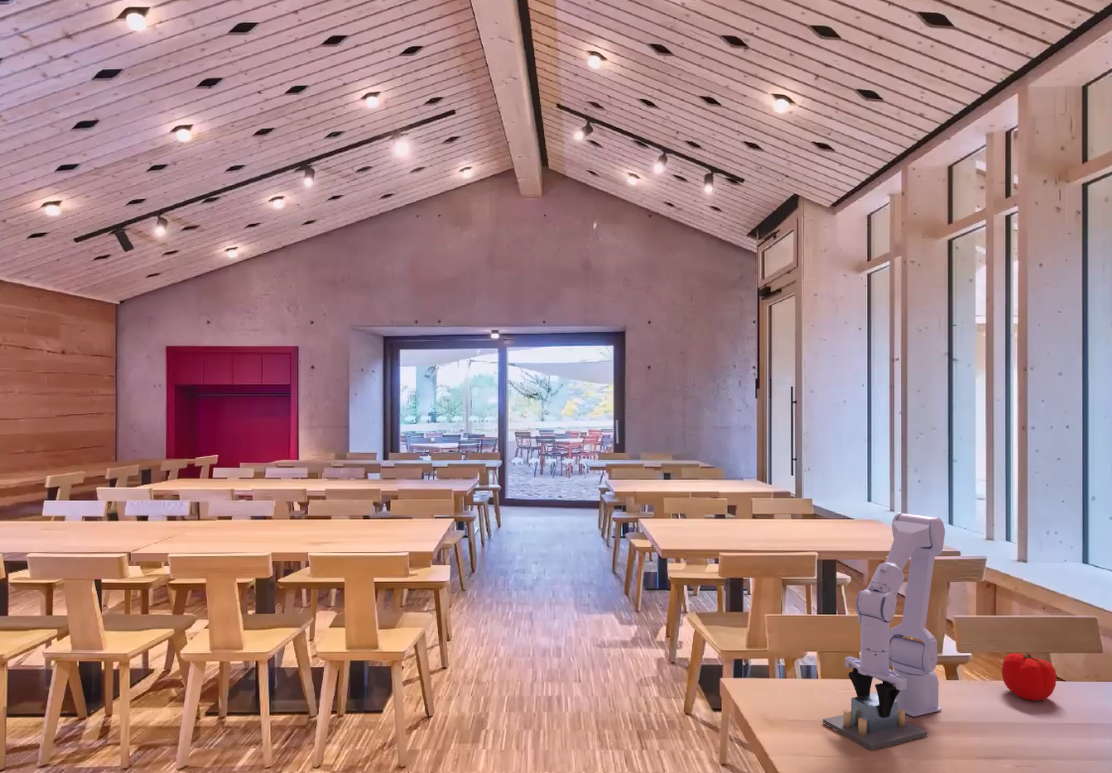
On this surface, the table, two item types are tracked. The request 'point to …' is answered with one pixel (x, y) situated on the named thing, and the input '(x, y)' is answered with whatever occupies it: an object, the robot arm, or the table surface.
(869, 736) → the grey pegged base plate
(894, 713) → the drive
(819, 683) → the table surface
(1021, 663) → the tomato
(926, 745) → the table surface
